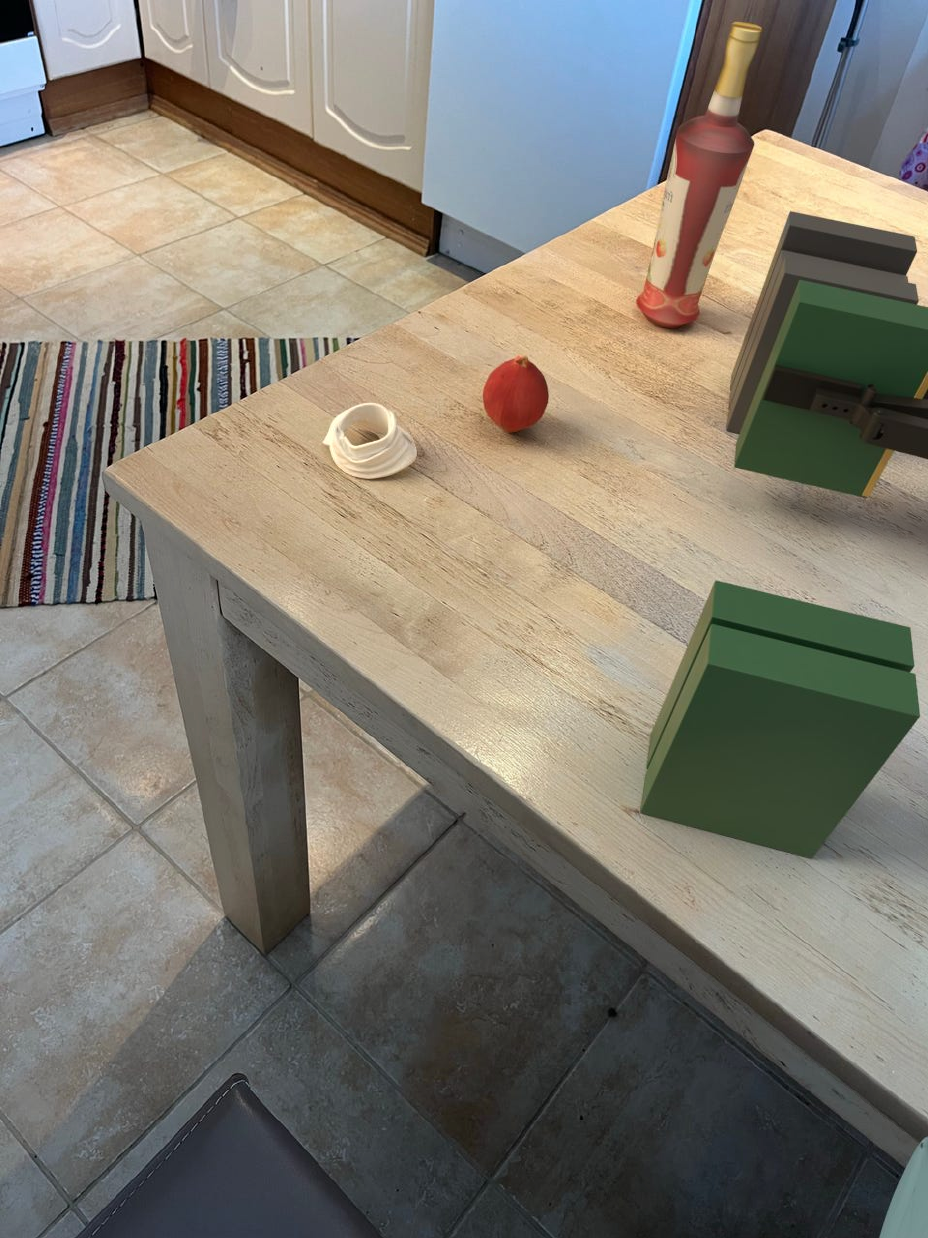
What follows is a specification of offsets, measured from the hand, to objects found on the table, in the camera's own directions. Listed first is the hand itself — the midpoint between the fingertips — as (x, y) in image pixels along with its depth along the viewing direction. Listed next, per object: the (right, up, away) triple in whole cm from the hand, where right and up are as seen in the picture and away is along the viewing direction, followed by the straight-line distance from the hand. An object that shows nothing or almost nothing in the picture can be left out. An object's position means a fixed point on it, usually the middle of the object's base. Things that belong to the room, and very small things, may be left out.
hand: (770, 368), depth 74 cm
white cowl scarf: (-32, -6, +8) cm, 33 cm away
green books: (-6, -31, -11) cm, 34 cm away
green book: (+4, -7, +6) cm, 10 cm away
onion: (-20, -2, +13) cm, 24 cm away
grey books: (+8, 0, +19) cm, 21 cm away
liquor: (-2, +13, +30) cm, 33 cm away
